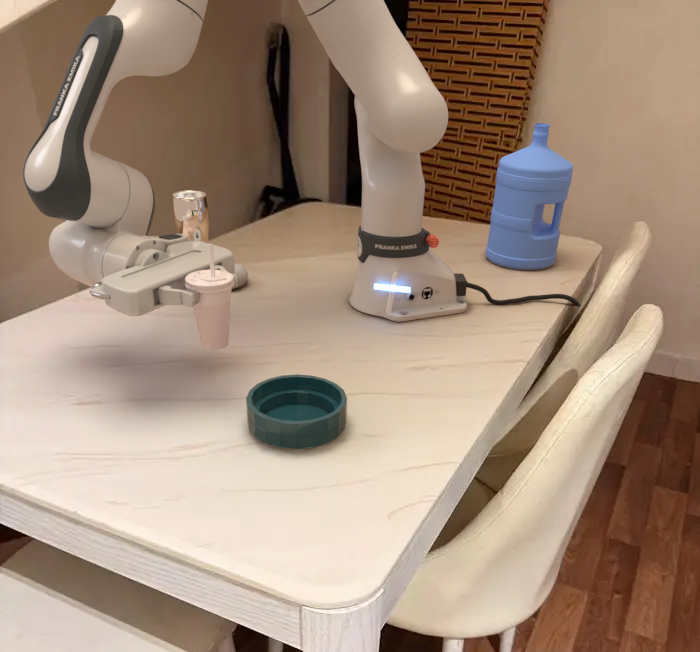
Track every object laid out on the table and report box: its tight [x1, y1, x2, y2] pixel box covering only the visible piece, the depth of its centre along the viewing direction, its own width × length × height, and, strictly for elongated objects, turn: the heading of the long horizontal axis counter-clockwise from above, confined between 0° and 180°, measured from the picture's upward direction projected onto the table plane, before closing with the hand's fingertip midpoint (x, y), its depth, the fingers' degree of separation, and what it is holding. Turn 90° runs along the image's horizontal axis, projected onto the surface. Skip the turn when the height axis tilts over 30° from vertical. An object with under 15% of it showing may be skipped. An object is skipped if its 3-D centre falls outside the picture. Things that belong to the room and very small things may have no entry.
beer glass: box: [172, 189, 210, 243], centre depth 144 cm, size 7×7×15 cm
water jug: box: [485, 122, 574, 271], centre depth 151 cm, size 16×16×28 cm
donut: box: [231, 262, 249, 290], centre depth 140 cm, size 10×4×10 cm
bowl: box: [245, 373, 348, 450], centre depth 95 cm, size 13×13×4 cm
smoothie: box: [185, 243, 234, 351], centre depth 94 cm, size 6×6×14 cm
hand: (215, 290), depth 93 cm, fingers closed on smoothie, 6 cm apart
